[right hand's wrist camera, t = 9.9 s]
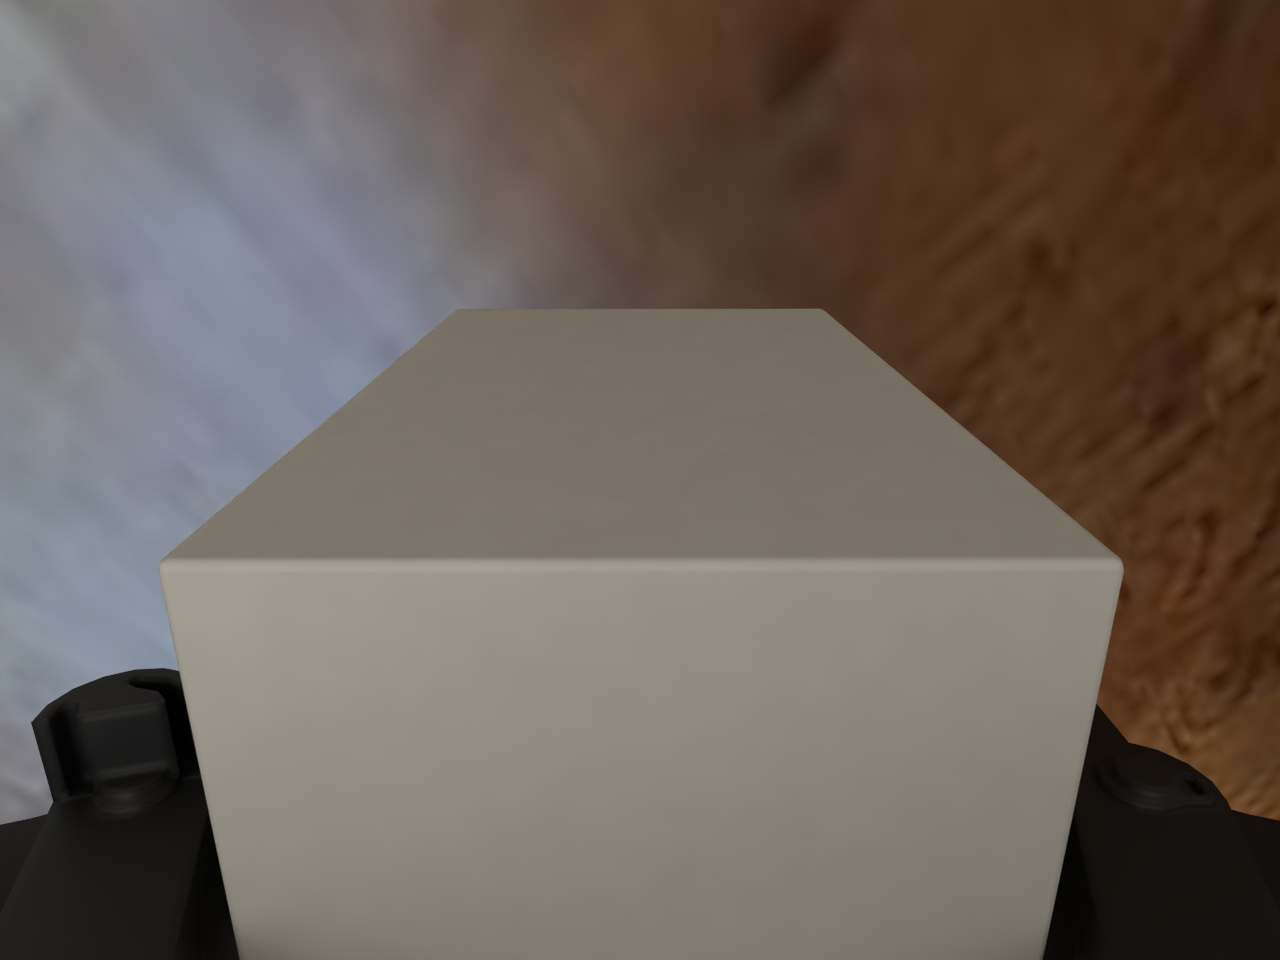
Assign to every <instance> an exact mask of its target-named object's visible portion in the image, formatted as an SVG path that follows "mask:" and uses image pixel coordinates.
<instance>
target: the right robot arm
mask: <svg viewBox="0 0 1280 960" xmlns="http://www.w3.org/2000/svg"><path fill="white" fill-rule="evenodd" d="M31 723H32V727H33V730H34V734H35V738H36V741H37V745H38V748H39V752H40V755H41V759H42V762H43V766H44V769H45V773H46V777H47V780H48V784H49V787H50V791H51V794H52V798H53V801H54V802H53V804H52V806H51V808H50V810H49V812H48V814H46V815H42V816H39V817H35V818H31V819H26V820H21V821H17V822H12V823H7V824H2V825H0V960H240V959H239V954H238V949H237V944H236V940H235V935H234V930H233V925H232V920H231V916H230V911H229V906H228V901H227V896H226V892H225V887H224V882H223V877H222V873H221V868H220V863H219V858H218V853H217V849H216V844H215V839H214V834H213V829H212V825H211V820H210V815H209V810H208V806H207V801H206V796H205V791H204V786H203V782H202V777H201V772H200V767H199V763H198V758H197V753H196V748H195V743H194V739H193V734H192V729H191V724H190V719H189V715H188V710H187V705H186V700H185V696H184V691H183V686H182V681H181V676H180V672H179V671H175V670H170V669H165V668H159V669H138V670H132V671H127V672H123V673H118V674H114V675H109V676H105V677H102V678H99V679H97V680H94V681H92V682H89V683H87V684H84V685H82V686H79V687H77V688H74V689H72V690H71V691H69V692H67V693H66V694H64V695H63V696H61V697H59V698H58V699H56V700H55V701H53V702H51V703H50V704H48V705H47V706H46V707H45V708H44V709H43V710H42V711H41V712H40V714H39V715H38V716H37V717H36V718H35V719H34V720H33V721H32V722H31ZM1043 960H1280V821H1278V820H1273V819H1268V818H1264V817H1259V816H1254V815H1249V814H1245V813H1242V812H1238V811H1234V810H1231V808H1230V806H1229V804H1228V802H1227V800H1226V799H1225V798H1224V796H1223V795H1222V794H1221V792H1220V791H1219V790H1218V789H1217V787H1216V786H1215V785H1214V783H1213V782H1212V781H1211V780H1209V779H1208V778H1207V777H1205V776H1204V775H1203V774H1201V773H1200V772H1198V771H1197V770H1196V769H1194V768H1193V767H1192V766H1190V765H1189V764H1187V763H1185V762H1183V761H1181V760H1179V759H1176V758H1174V757H1172V756H1170V755H1168V754H1165V753H1163V752H1161V751H1159V750H1155V749H1152V748H1148V747H1144V746H1140V745H1136V744H1132V743H1129V742H1128V741H1127V740H1126V739H1125V738H1124V736H1123V735H1122V734H1121V733H1120V732H1119V730H1118V729H1117V728H1116V727H1115V726H1114V724H1113V723H1112V722H1111V721H1110V720H1109V718H1108V717H1107V716H1106V715H1105V714H1104V712H1103V711H1102V710H1101V709H1100V708H1099V706H1098V705H1097V704H1096V706H1095V711H1094V716H1093V721H1092V725H1091V730H1090V735H1089V740H1088V745H1087V749H1086V754H1085V759H1084V764H1083V769H1082V773H1081V778H1080V783H1079V788H1078V793H1077V797H1076V802H1075V807H1074V812H1073V817H1072V821H1071V826H1070V831H1069V836H1068V840H1067V845H1066V850H1065V855H1064V860H1063V864H1062V869H1061V874H1060V879H1059V884H1058V888H1057V893H1056V898H1055V903H1054V908H1053V912H1052V917H1051V922H1050V927H1049V931H1048V936H1047V941H1046V946H1045V951H1044V955H1043Z"/></svg>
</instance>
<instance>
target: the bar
mask: <svg viewBox="0 0 1280 960" xmlns="http://www.w3.org/2000/svg"><path fill="white" fill-rule="evenodd" d="M1123 572H1124V570H1123V564H1122V561H1121V559H1120V558H1119V557H1118V556H1116V555H1115V554H1114V553H1113V552H1112V551H1111V550H1109V549H1108V548H1107V547H1106V546H1105V545H1103V544H1102V543H1101V542H1100V541H1099V540H1097V539H1096V538H1095V537H1094V536H1093V535H1091V534H1090V533H1089V532H1088V531H1087V530H1085V529H1084V528H1083V527H1082V526H1081V525H1079V524H1078V523H1077V522H1076V521H1075V520H1073V519H1072V518H1071V517H1070V516H1069V515H1068V514H1066V513H1065V512H1064V511H1063V510H1062V509H1060V508H1059V507H1058V506H1057V505H1056V504H1054V503H1053V502H1052V501H1051V500H1050V499H1048V498H1047V497H1046V496H1045V495H1044V494H1042V493H1041V492H1040V491H1039V490H1038V489H1036V488H1035V487H1034V486H1033V485H1032V484H1031V483H1029V482H1028V481H1027V480H1026V479H1025V478H1023V477H1022V476H1021V475H1020V474H1019V473H1017V472H1016V471H1015V470H1014V469H1013V468H1011V467H1010V466H1009V465H1008V464H1007V463H1005V462H1004V461H1003V460H1002V459H1001V458H999V457H998V456H997V455H996V454H995V453H993V452H992V451H991V450H990V449H989V448H988V447H986V446H985V445H984V444H983V443H982V442H980V441H979V440H978V439H977V438H976V437H974V436H973V435H972V434H971V433H970V432H968V431H967V430H966V429H965V428H964V427H962V426H961V425H960V424H959V423H958V422H956V421H955V420H954V419H953V418H952V417H951V416H949V415H948V414H947V413H946V412H945V411H943V410H942V409H941V408H940V407H939V406H937V405H936V404H935V403H934V402H933V401H931V400H930V399H929V398H928V397H927V396H925V395H924V394H923V393H922V392H921V391H919V390H918V389H917V388H916V387H915V386H913V385H912V384H911V383H910V382H909V381H908V380H906V379H905V378H904V377H903V376H902V375H900V374H899V373H898V372H897V371H896V370H894V369H893V368H892V367H891V366H890V365H888V364H887V363H886V362H885V361H884V360H882V359H881V358H880V357H879V356H878V355H876V354H875V353H874V352H873V351H872V350H871V349H869V348H868V347H867V346H866V345H865V344H863V343H862V342H861V341H860V340H859V339H857V338H856V337H855V336H854V335H853V334H851V333H850V332H849V331H848V330H847V329H845V328H844V327H843V326H842V325H841V324H839V323H838V322H837V321H836V320H835V319H833V318H832V317H831V316H830V315H829V314H828V313H826V312H825V311H824V310H822V309H458V310H456V311H455V312H454V313H452V314H451V315H450V316H449V317H448V318H447V319H445V320H444V321H443V322H442V323H441V324H439V325H438V326H437V327H436V328H435V329H434V330H432V331H431V332H430V333H429V334H428V335H426V336H425V337H424V338H423V339H422V340H421V341H419V342H418V343H417V344H416V345H415V346H413V347H412V348H411V349H410V350H409V351H408V352H406V353H405V354H404V355H403V356H402V357H401V358H399V359H398V360H397V361H396V362H395V363H393V364H392V365H391V366H390V367H389V368H388V369H386V370H385V371H384V372H383V373H382V374H380V375H379V376H378V377H377V378H376V379H375V380H373V381H372V382H371V383H370V384H369V385H368V386H366V387H365V388H364V389H363V390H362V391H360V392H359V393H358V394H357V395H356V396H355V397H353V398H352V399H351V400H350V401H349V402H347V403H346V404H345V405H344V406H343V407H342V408H340V409H339V410H338V411H337V412H336V413H334V414H333V415H332V416H331V417H330V418H329V419H327V420H326V421H325V422H324V423H323V424H322V425H320V426H319V427H318V428H317V429H316V430H314V431H313V432H312V433H311V434H310V435H309V436H307V437H306V438H305V439H304V440H303V441H301V442H300V443H299V444H298V445H297V446H296V447H294V448H293V449H292V450H291V451H290V452H289V453H287V454H286V455H285V456H284V457H283V458H281V459H280V460H279V461H278V462H277V463H276V464H274V465H273V466H272V467H271V468H270V469H268V470H267V471H266V472H265V473H264V474H263V475H261V476H260V477H259V478H258V479H257V480H255V481H254V482H253V483H252V484H251V485H250V486H248V487H247V488H246V489H245V490H244V491H243V492H241V493H240V494H239V495H238V496H237V497H235V498H234V499H233V500H232V501H231V502H230V503H228V504H227V505H226V506H225V507H224V508H222V509H221V510H220V511H219V512H218V513H217V514H215V515H214V516H213V517H212V518H211V519H210V520H208V521H207V522H206V523H205V524H204V525H202V526H201V527H200V528H199V529H198V530H197V531H195V532H194V533H193V534H192V535H191V536H189V537H188V538H187V539H186V540H185V541H184V542H182V543H181V544H180V545H179V546H178V547H176V548H175V549H174V550H173V551H172V552H171V553H169V554H168V555H167V556H166V557H165V558H164V559H162V560H161V563H160V567H159V576H160V581H161V586H162V590H163V595H164V600H165V605H166V609H167V614H168V619H169V624H170V629H171V633H172V638H173V643H174V648H175V652H176V657H177V662H178V667H179V672H180V676H181V681H182V686H183V691H184V696H185V700H186V705H187V710H188V715H189V719H190V724H191V729H192V734H193V739H194V743H195V748H196V753H197V758H198V763H199V767H200V772H201V777H202V782H203V786H204V791H205V796H206V801H207V806H208V810H209V815H210V820H211V825H212V829H213V834H214V839H215V844H216V849H217V853H218V858H219V863H220V868H221V873H222V877H223V882H224V887H225V892H226V896H227V901H228V906H229V911H230V916H231V920H232V925H233V930H234V935H235V940H236V944H237V949H238V954H239V959H240V960H1043V955H1044V951H1045V946H1046V941H1047V936H1048V931H1049V927H1050V922H1051V917H1052V912H1053V908H1054V903H1055V898H1056V893H1057V888H1058V884H1059V879H1060V874H1061V869H1062V864H1063V860H1064V855H1065V850H1066V845H1067V840H1068V836H1069V831H1070V826H1071V821H1072V817H1073V812H1074V807H1075V802H1076V797H1077V793H1078V788H1079V783H1080V778H1081V773H1082V769H1083V764H1084V759H1085V754H1086V749H1087V745H1088V740H1089V735H1090V730H1091V725H1092V721H1093V716H1094V711H1095V706H1096V702H1097V697H1098V692H1099V687H1100V682H1101V678H1102V673H1103V668H1104V663H1105V658H1106V654H1107V649H1108V644H1109V639H1110V634H1111V630H1112V625H1113V620H1114V615H1115V611H1116V606H1117V601H1118V596H1119V591H1120V587H1121V582H1122V577H1123Z"/></svg>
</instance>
